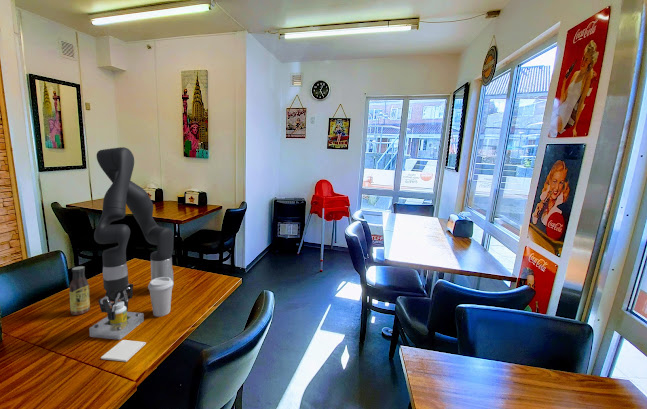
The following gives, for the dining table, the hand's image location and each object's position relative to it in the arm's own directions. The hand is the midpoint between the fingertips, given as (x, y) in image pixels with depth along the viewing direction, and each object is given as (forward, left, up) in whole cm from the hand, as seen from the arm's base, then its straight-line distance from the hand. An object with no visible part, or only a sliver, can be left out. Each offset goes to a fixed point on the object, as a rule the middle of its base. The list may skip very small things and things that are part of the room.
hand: (118, 315), depth 104 cm
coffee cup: (-13, +9, -6) cm, 16 cm away
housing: (0, 0, -6) cm, 6 cm away
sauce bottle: (-8, -24, -6) cm, 26 cm away
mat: (+11, +12, -6) cm, 17 cm away
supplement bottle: (0, 0, -5) cm, 5 cm away
